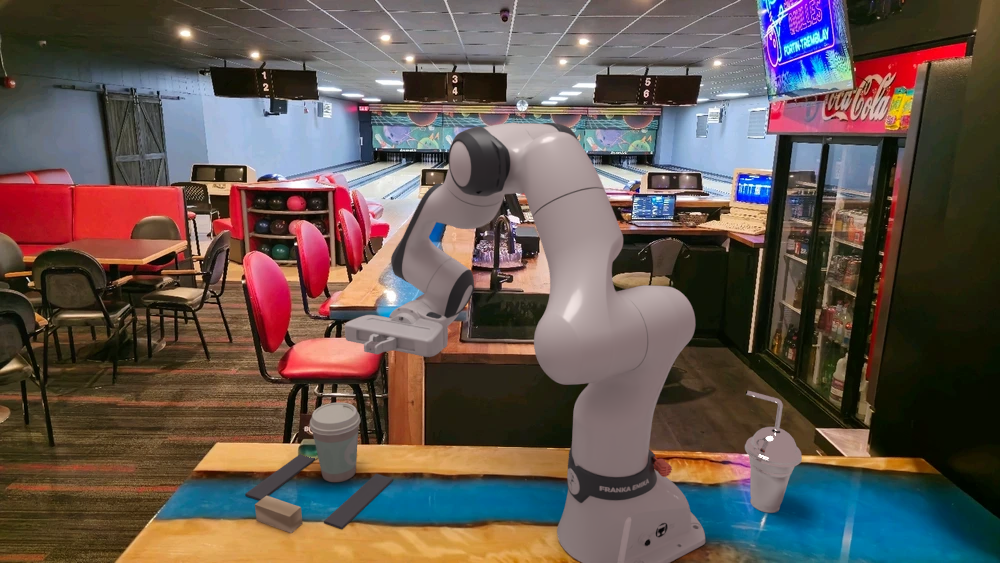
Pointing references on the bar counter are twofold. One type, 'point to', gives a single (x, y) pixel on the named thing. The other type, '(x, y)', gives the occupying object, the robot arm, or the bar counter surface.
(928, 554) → the bar counter surface
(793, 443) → the cup with straw
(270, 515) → the maple block
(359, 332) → the robot arm
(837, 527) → the bar counter surface
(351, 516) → the gutter strips
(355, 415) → the coffee cup
